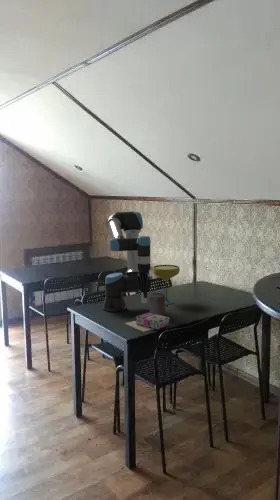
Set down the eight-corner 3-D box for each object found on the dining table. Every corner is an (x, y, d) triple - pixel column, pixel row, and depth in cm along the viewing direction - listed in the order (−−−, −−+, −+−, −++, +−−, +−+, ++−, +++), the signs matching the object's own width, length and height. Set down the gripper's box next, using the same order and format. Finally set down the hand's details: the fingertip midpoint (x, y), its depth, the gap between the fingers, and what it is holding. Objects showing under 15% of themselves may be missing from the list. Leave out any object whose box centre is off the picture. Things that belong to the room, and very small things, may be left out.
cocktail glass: (154, 298, 319) (154, 264, 316) (180, 299, 317) (180, 264, 313) (151, 305, 302) (151, 269, 298) (178, 306, 299) (178, 269, 295)
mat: (124, 324, 262) (124, 323, 262) (149, 318, 273) (149, 317, 273) (143, 332, 248) (143, 331, 248) (167, 326, 259) (167, 325, 259)
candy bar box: (135, 324, 260) (157, 330, 250) (135, 316, 260) (157, 321, 249) (148, 320, 269) (169, 325, 258) (148, 312, 268) (169, 316, 257)
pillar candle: (164, 313, 283) (163, 290, 281) (165, 318, 273) (165, 294, 271) (148, 314, 283) (148, 291, 280) (149, 318, 273) (149, 294, 271)
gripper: (132, 262, 260) (132, 301, 263) (145, 265, 249) (145, 306, 253) (142, 260, 264) (142, 299, 268) (156, 263, 254) (156, 304, 257)
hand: (144, 302), depth 260 cm, fingers closed
